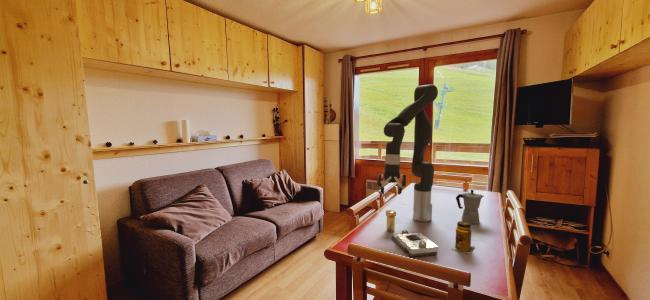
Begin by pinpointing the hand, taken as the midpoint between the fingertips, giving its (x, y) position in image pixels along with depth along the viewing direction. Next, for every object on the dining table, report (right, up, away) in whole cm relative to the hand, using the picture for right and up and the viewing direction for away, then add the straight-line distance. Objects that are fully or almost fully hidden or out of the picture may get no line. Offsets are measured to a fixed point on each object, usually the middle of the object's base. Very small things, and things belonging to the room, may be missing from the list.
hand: (390, 194), depth 140 cm
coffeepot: (+47, -18, +13) cm, 51 cm away
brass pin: (0, -19, +1) cm, 19 cm away
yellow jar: (+28, -21, -19) cm, 40 cm away
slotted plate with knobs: (+6, -21, -16) cm, 27 cm away
